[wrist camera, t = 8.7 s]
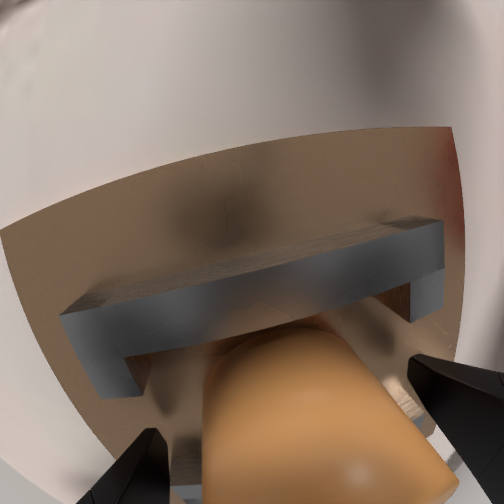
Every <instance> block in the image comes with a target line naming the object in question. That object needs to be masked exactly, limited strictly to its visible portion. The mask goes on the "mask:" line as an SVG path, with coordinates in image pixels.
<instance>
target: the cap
mask: <svg viewBox="0 0 504 504" xmlns="http://www.w3.org/2000/svg"><path fill="white" fill-rule="evenodd" d="M458 485H459V480H458V478H457V477H456V476H455V474H454V473H453V472H452V470H451V469H450V468H449V467H448V465H447V464H446V463H445V462H444V460H443V459H442V458H441V457H440V455H439V454H438V453H437V452H436V450H435V449H434V448H433V447H432V445H431V444H430V443H429V442H428V440H427V439H426V438H425V437H424V435H423V434H422V433H421V432H420V431H419V429H418V428H417V427H416V426H415V424H414V423H413V422H412V421H411V419H410V418H409V417H408V416H407V415H406V413H405V412H404V411H403V410H402V408H401V407H400V406H399V405H398V404H397V402H396V401H395V400H394V399H393V398H392V396H391V395H390V394H389V393H388V392H387V390H386V389H385V388H384V387H383V385H382V384H381V383H380V382H379V381H378V379H377V378H376V377H375V376H374V375H373V373H372V372H371V371H370V370H369V369H368V367H367V366H366V365H365V364H364V363H363V361H362V360H361V359H360V358H359V357H358V356H357V354H356V353H355V352H354V351H353V350H352V348H351V347H350V346H349V345H348V344H347V343H346V342H344V341H343V340H342V339H340V338H339V337H337V336H335V335H333V334H330V333H328V332H324V331H321V330H316V329H308V328H293V329H283V330H278V331H273V332H269V333H266V334H263V335H260V336H257V337H255V338H253V339H250V340H248V341H246V342H244V343H243V344H241V345H239V346H237V347H236V348H235V349H233V350H232V351H230V352H229V353H228V354H226V355H225V356H224V357H223V358H222V359H221V360H220V361H219V362H218V363H217V365H216V366H215V367H214V368H213V370H212V371H211V373H210V375H209V376H208V378H207V381H206V383H205V386H204V391H203V409H202V504H444V503H445V502H446V501H447V500H448V499H449V498H450V497H451V495H452V494H453V493H454V492H455V490H456V489H457V487H458Z"/></svg>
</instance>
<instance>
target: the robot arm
mask: <svg viewBox="0 0 504 504" xmlns="http://www.w3.org/2000/svg"><path fill="white" fill-rule="evenodd" d="M407 378H408V381H409V382H410V384H411V386H412V387H413V389H414V391H415V392H416V394H417V396H418V397H419V399H420V401H421V403H422V404H423V406H424V408H425V409H426V411H427V412H428V413H429V415H430V416H431V417H432V419H433V420H434V421H435V423H436V424H437V425H438V427H439V428H440V429H441V431H442V432H443V433H444V435H445V436H446V437H447V439H448V440H449V442H450V443H451V444H452V446H453V447H454V448H455V450H456V451H457V453H458V454H459V455H460V457H461V458H462V460H463V461H464V462H465V464H466V465H467V467H468V468H469V469H470V471H471V472H472V474H473V475H474V477H475V478H476V480H477V482H478V483H479V484H480V486H481V487H482V489H483V490H484V492H485V493H486V495H487V496H488V498H489V499H490V501H491V503H492V504H504V373H501V372H496V371H492V370H487V369H482V368H478V367H473V366H469V365H465V364H460V363H456V362H452V361H448V360H444V359H440V358H436V357H432V356H428V355H424V354H420V353H418V354H415V355H413V356H411V357H410V358H409V360H408V368H407ZM76 504H170V471H169V458H168V445H167V442H166V440H165V439H164V438H163V436H162V435H161V433H160V432H159V430H158V429H157V428H145V429H144V430H143V431H142V432H141V433H140V435H139V436H138V437H137V438H136V439H135V440H134V441H133V442H132V444H131V445H130V446H129V447H128V448H127V449H126V450H125V452H124V453H123V454H122V455H121V456H120V457H119V458H118V459H117V460H116V462H115V463H114V464H113V465H112V466H111V467H110V468H109V469H108V470H107V471H106V473H105V474H104V475H103V476H102V477H101V478H100V479H99V480H98V481H97V482H96V483H95V484H94V486H93V487H92V488H91V490H89V491H88V492H87V493H86V494H85V495H84V496H83V497H82V498H81V499H80V500H79V501H78V502H77V503H76Z"/></svg>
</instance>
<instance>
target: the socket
mask: <svg viewBox="0 0 504 504" xmlns="http://www.w3.org/2000/svg"><path fill="white" fill-rule="evenodd" d="M0 236H1V241H2V245H3V249H4V253H5V256H6V260H7V263H8V267H9V270H10V273H11V276H12V279H13V282H14V285H15V288H16V291H17V294H18V297H19V299H20V302H21V305H22V307H23V310H24V312H25V315H26V317H27V319H28V322H29V324H30V326H31V329H32V331H33V333H34V335H35V337H36V340H37V342H38V344H39V346H40V348H41V350H42V352H43V354H44V356H45V358H46V359H47V361H48V363H49V365H50V367H51V369H52V370H53V372H54V374H55V376H56V377H57V379H58V381H59V383H60V384H61V386H62V388H63V389H64V391H65V392H66V394H67V396H68V397H69V399H70V400H71V402H72V403H73V405H74V406H75V408H76V409H77V411H78V412H79V414H80V415H81V416H82V418H83V419H84V421H85V422H86V423H87V425H88V426H89V427H90V429H91V430H92V431H93V433H94V434H95V435H96V437H97V438H98V439H99V440H100V442H101V443H102V444H103V445H104V446H105V448H106V449H107V450H108V451H109V452H110V454H111V455H112V456H113V457H114V458H115V459H116V460H117V459H118V458H119V457H120V456H121V455H122V454H123V453H124V452H125V450H126V449H127V448H128V447H129V446H130V445H131V444H132V442H133V441H134V440H135V439H136V438H137V437H138V436H139V435H140V433H141V432H142V431H143V430H144V429H145V428H157V429H158V430H159V432H160V433H161V435H162V436H163V438H164V439H165V440H166V442H167V445H168V458H169V471H170V504H202V409H203V391H204V386H205V383H206V381H207V378H208V376H209V375H210V373H211V371H212V370H213V368H214V367H215V366H216V365H217V363H218V362H219V361H220V360H221V359H222V358H223V357H224V356H225V355H226V354H228V353H229V352H230V351H232V350H233V349H235V348H236V347H237V346H239V345H241V344H243V343H244V342H246V341H248V340H250V339H253V338H255V337H257V336H260V335H263V334H266V333H269V332H273V331H278V330H283V329H293V328H308V329H316V330H321V331H324V332H328V333H330V334H333V335H335V336H337V337H339V338H340V339H342V340H343V341H344V342H346V343H347V344H348V345H349V346H350V347H351V348H352V350H353V351H354V352H355V353H356V354H357V356H358V357H359V358H360V359H361V360H362V361H363V363H364V364H365V365H366V366H367V367H368V369H369V370H370V371H371V372H372V373H373V375H374V376H375V377H376V378H377V379H378V381H379V382H380V383H381V384H382V385H383V387H384V388H385V389H386V390H387V392H388V393H389V394H390V395H391V396H392V398H393V399H394V400H395V401H396V402H397V404H398V405H399V406H400V407H401V408H402V410H403V411H404V412H405V413H406V415H407V416H408V417H409V418H410V419H411V421H412V422H413V423H414V424H415V426H416V427H417V428H418V429H419V431H420V432H421V433H422V434H423V435H424V437H425V438H427V437H429V436H430V435H432V434H433V432H434V429H435V427H436V423H435V421H434V420H433V419H432V417H431V416H430V415H429V413H428V412H427V411H426V409H425V408H424V406H423V404H422V403H421V401H420V399H419V397H418V396H417V394H416V392H415V391H414V389H413V387H412V386H411V384H410V382H409V381H408V378H407V368H408V360H409V358H410V357H411V356H413V355H415V354H418V353H420V354H424V355H428V356H432V357H436V358H440V359H444V360H448V361H452V362H454V357H455V352H456V347H457V341H458V335H459V328H460V321H461V313H462V303H463V292H464V275H465V225H464V208H463V197H462V187H461V179H460V172H459V165H458V159H457V153H456V148H455V143H454V138H453V133H452V129H451V127H394V128H375V129H361V130H349V131H339V132H330V133H321V134H313V135H306V136H299V137H292V138H286V139H279V140H273V141H268V142H262V143H257V144H251V145H246V146H241V147H237V148H232V149H227V150H223V151H218V152H214V153H210V154H205V155H201V156H197V157H193V158H189V159H186V160H182V161H178V162H174V163H171V164H167V165H164V166H160V167H157V168H153V169H150V170H147V171H144V172H140V173H137V174H134V175H131V176H128V177H125V178H122V179H119V180H116V181H113V182H110V183H107V184H105V185H102V186H99V187H96V188H94V189H91V190H88V191H86V192H83V193H80V194H78V195H75V196H73V197H70V198H68V199H65V200H63V201H61V202H58V203H56V204H54V205H51V206H49V207H47V208H44V209H42V210H40V211H38V212H36V213H33V214H31V215H29V216H27V217H25V218H23V219H21V220H19V221H17V222H15V223H13V224H11V225H9V226H7V227H5V228H3V229H1V230H0Z"/></svg>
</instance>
